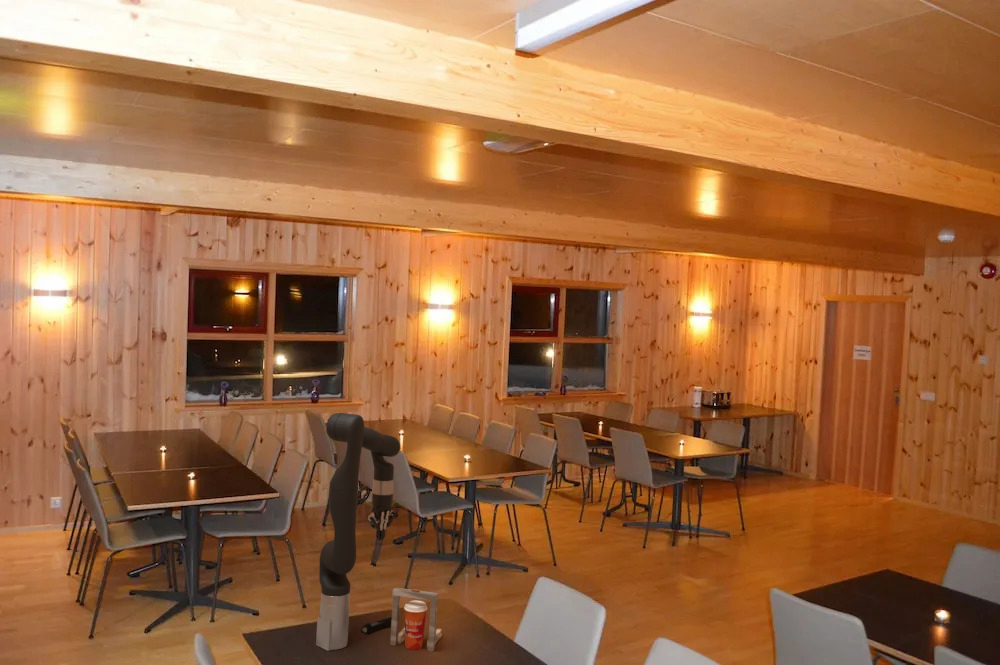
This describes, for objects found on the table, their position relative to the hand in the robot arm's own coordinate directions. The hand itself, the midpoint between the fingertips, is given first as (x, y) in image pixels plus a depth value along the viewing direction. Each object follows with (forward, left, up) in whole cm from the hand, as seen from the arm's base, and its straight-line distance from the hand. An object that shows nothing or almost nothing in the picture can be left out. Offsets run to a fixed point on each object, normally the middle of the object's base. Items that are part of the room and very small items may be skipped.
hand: (380, 539), depth 284 cm
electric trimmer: (-7, -10, -28) cm, 30 cm away
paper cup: (-10, -29, -27) cm, 41 cm away
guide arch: (-6, -27, -27) cm, 39 cm away
